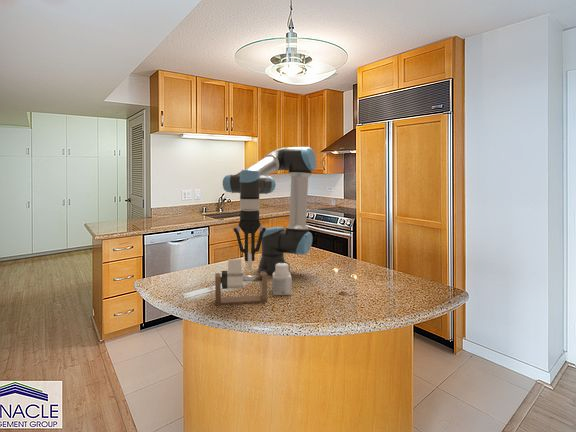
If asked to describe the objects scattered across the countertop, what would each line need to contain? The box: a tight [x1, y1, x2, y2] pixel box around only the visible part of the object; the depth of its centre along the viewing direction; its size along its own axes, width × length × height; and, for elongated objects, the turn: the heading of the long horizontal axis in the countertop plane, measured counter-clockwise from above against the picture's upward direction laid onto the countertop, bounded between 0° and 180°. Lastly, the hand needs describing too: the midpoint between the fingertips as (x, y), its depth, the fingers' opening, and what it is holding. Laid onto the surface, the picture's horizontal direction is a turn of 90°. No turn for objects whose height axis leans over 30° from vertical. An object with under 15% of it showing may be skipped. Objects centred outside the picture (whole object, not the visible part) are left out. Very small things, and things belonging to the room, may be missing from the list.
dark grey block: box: [221, 270, 228, 290], centre depth 135 cm, size 2×6×6 cm, turn 12°
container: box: [271, 261, 293, 296], centre depth 148 cm, size 8×8×13 cm
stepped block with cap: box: [226, 258, 244, 290], centre depth 135 cm, size 6×6×11 cm
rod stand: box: [214, 271, 268, 306], centre depth 136 cm, size 20×6×11 cm, turn 102°
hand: (249, 269), depth 136 cm, fingers closed
